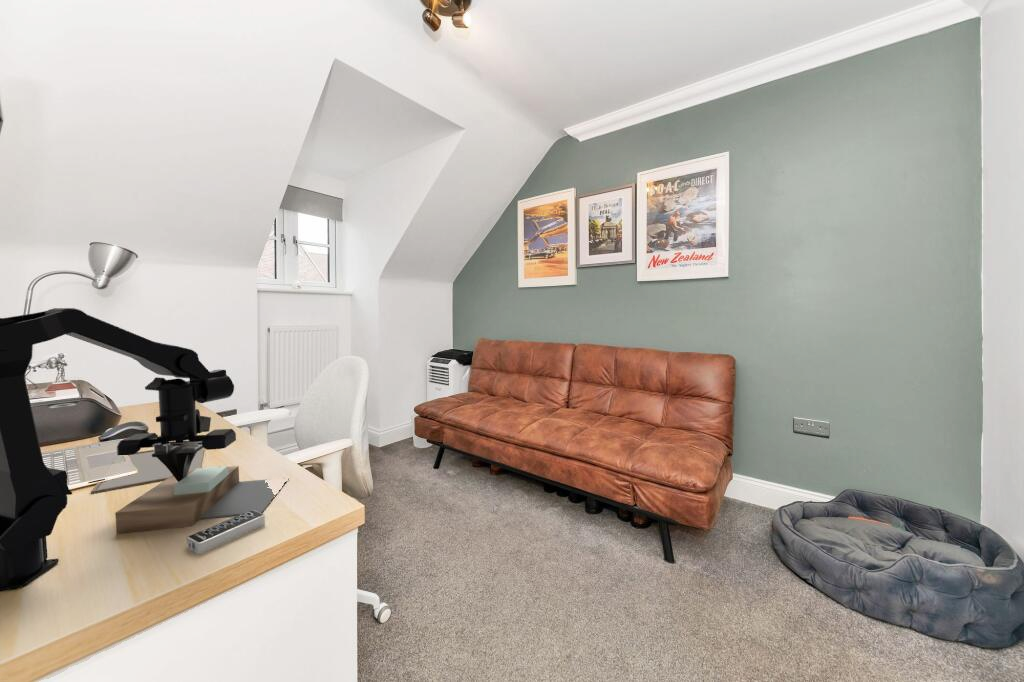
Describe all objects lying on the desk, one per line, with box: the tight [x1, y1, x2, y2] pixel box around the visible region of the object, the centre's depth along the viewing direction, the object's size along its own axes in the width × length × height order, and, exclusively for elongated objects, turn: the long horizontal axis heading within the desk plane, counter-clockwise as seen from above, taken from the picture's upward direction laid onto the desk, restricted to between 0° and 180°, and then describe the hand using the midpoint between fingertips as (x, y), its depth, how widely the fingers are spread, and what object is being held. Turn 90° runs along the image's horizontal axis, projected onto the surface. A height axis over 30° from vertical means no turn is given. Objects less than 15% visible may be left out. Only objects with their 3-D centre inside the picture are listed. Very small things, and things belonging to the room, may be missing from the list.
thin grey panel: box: [90, 448, 206, 495], centre depth 105 cm, size 19×1×28 cm
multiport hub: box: [186, 510, 266, 555], centre depth 72 cm, size 4×11×2 cm, turn 152°
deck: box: [114, 465, 240, 535], centre depth 83 cm, size 20×12×4 cm, turn 13°
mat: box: [199, 479, 276, 520], centre depth 87 cm, size 17×11×1 cm, turn 13°
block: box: [174, 465, 229, 495], centre depth 84 cm, size 9×6×2 cm, turn 15°
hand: (181, 481), depth 83 cm, fingers closed
